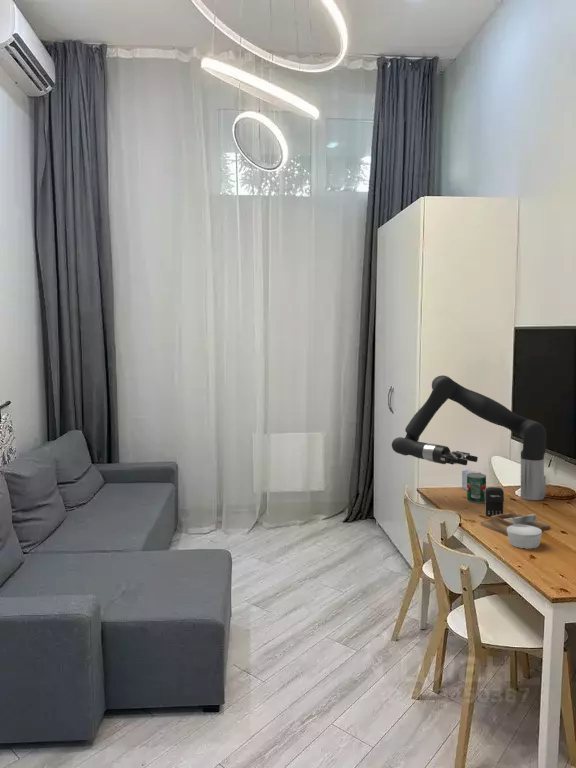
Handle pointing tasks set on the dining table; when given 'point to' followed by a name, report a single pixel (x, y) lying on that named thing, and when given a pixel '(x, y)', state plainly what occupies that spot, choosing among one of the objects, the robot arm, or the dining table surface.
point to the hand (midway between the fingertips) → (472, 461)
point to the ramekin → (524, 536)
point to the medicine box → (464, 477)
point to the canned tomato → (476, 487)
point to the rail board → (512, 522)
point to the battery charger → (494, 501)
